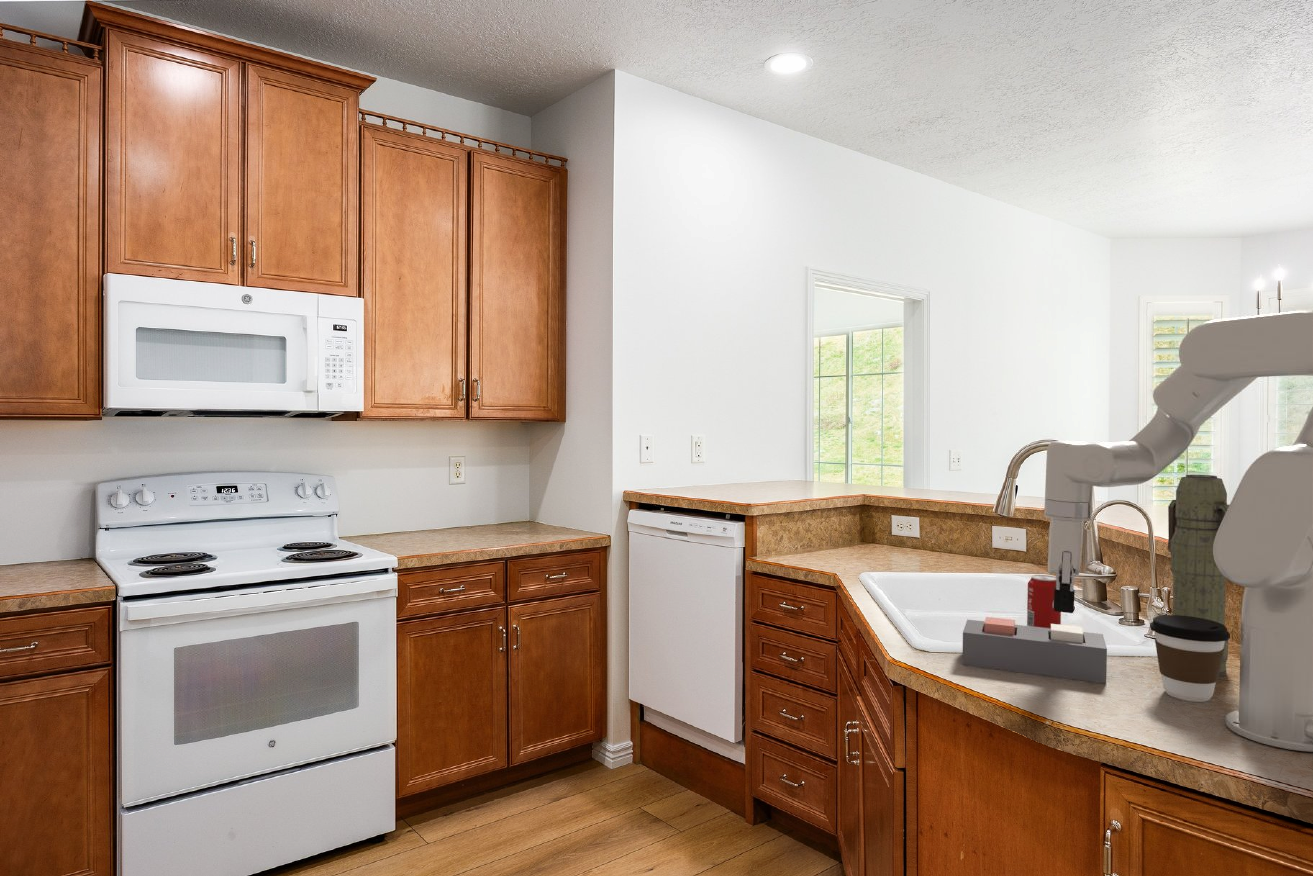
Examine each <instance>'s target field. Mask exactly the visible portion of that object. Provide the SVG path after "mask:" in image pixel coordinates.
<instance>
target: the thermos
mask: <svg viewBox="0 0 1313 876" xmlns="http://www.w3.org/2000/svg"><path fill="white" fill-rule="evenodd" d="M1229 505H1230V504H1228V493H1227V490H1226V487H1225V484H1224V481H1223V479H1222V478H1221V477H1218V475H1213V474H1212V475H1210V474H1186V475H1185V476H1181V477H1180V480H1179V483H1178V484H1177V487H1176V490H1175V499H1172V500H1171V501H1170V503H1169V504H1168V506H1167V507H1168V509H1167V511H1168V513H1167V515H1168V518H1167V519H1168V521H1167V522H1168V525H1167V527H1168V529H1167V530H1168V540H1167V550H1168V552H1169V553H1170V571H1171V574H1172V575H1173V576H1172V578H1173V579H1172V614H1171V615H1181V616H1191V617H1197V618H1203V619H1208V620H1212V621H1215V622H1218V623H1221V624H1223V625H1224V626H1225V627H1226V592H1227V591H1226V589H1227V578H1226V577H1225V576H1224V575H1223V574H1222V573H1221V572H1220V570H1219V569H1218V567H1217V565H1216V563H1215V560H1214V555H1213V545H1214V540H1215V537H1216V534H1217V531H1218V529H1219V527H1220V525H1221V522H1222V520H1223V518H1224V516H1225V514H1226V512H1227V510H1228V507H1229ZM1223 648H1224V653H1223V658H1222V662H1221V667H1220V672H1219V676H1218V678H1219V677H1224V676H1226V675H1227V661H1228V660H1229V639H1228V640H1227V641H1225V643H1224V647H1223Z"/></svg>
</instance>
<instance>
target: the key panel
mask: <svg viewBox="0 0 1313 876" xmlns="http://www.w3.org/2000/svg"><path fill="white" fill-rule="evenodd" d="M984 623H985V620H984V621H983V620H976V619H967V620H966V623H965V625H964V629H963V630H962V659H961V660H962V662H961V663H962V665H963V666H969V667H976V668H977V667H978V668H985V669H991V670H993V669H994V670H1000V671H1009V672H1016V673H1023V674H1030V675H1036V676H1037V675H1039V676H1046V677H1053V678H1062V679H1069V680H1075V681H1083V682H1084V681H1085V682H1090V683H1099V684H1107V673H1108V672H1107V669H1108V668H1107V666H1108V665H1107V661H1108V648H1107V644H1106V640H1105V637H1104V634H1103V633H1098V632H1096V633H1095V632H1087V631H1083V643H1079V642H1070V641H1061V640H1052V639H1051V628H1042V627H1032V626H1027V625H1024V624H1023V625H1021V624H1015V635H1008V634H999V633H990V632H984Z"/></svg>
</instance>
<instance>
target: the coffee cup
mask: <svg viewBox="0 0 1313 876" xmlns="http://www.w3.org/2000/svg"><path fill="white" fill-rule="evenodd" d="M1149 628H1150V630H1151V631H1152V632H1154V636H1155V638H1154V643H1155V650H1156V654H1157V655H1156V656H1157V661H1158V662H1157V663H1158V669H1159V670H1158V671H1159V673H1160V675H1161V680H1162V686H1163V688H1164V691H1165V693H1166V694H1167V695H1169V696H1170V697H1173V698H1175V699H1179V700H1181V701H1186V702H1187V701H1188V702H1194V703H1197V702H1199V703H1203V702H1208V701H1210V700H1211V699H1212V697H1213V695H1214V693H1215V688H1216V682H1218V679H1219V677H1220V676H1219V672H1220V667H1221V662H1222V658H1223V653H1224V648H1223V647H1224V643H1225V641H1227V640H1228V641H1229V639H1231V634H1230V632H1229V631H1228V628H1227V627H1226V625H1225V626H1224V625H1223V624H1221V623H1218V622H1215V621H1212V620H1208V619H1203V618H1197V617H1191V616H1181V615H1172V614H1164V615H1157V616H1155V617H1154V618H1152V622H1150V623H1149ZM1218 676H1219V677H1218Z"/></svg>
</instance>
